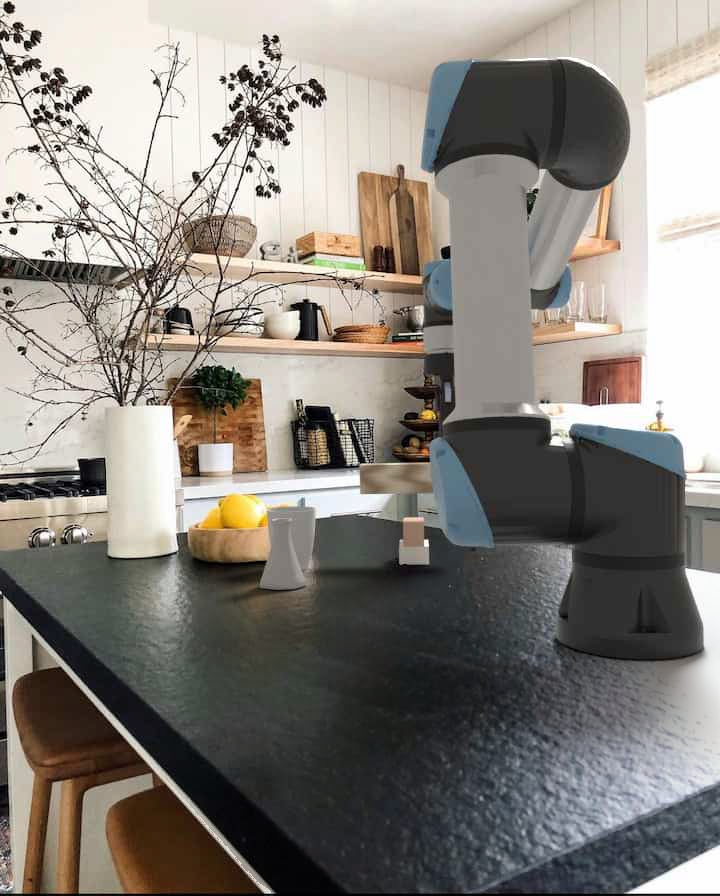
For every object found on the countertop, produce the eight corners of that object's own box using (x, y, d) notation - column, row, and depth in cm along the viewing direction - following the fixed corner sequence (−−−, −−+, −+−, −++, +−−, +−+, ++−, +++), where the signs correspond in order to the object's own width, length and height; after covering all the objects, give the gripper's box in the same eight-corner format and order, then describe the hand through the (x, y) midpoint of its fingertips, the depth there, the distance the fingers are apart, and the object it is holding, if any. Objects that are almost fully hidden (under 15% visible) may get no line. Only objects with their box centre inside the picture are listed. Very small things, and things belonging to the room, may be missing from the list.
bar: (464, 490, 143) (464, 462, 143) (465, 492, 139) (465, 463, 139) (361, 492, 144) (361, 463, 144) (360, 494, 140) (359, 465, 140)
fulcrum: (429, 564, 138) (428, 522, 137) (399, 564, 138) (398, 523, 138) (428, 556, 146) (427, 517, 145) (400, 556, 146) (399, 517, 146)
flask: (299, 592, 117) (298, 522, 117) (251, 591, 119) (250, 522, 119) (312, 582, 124) (311, 516, 124) (267, 581, 126) (265, 516, 126)
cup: (320, 564, 139) (319, 506, 139) (312, 573, 131) (311, 511, 131) (273, 564, 140) (272, 506, 140) (263, 573, 132) (261, 512, 132)
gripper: (471, 348, 131) (473, 493, 132) (465, 356, 148) (466, 484, 149) (424, 349, 132) (426, 494, 133) (423, 357, 149) (425, 485, 150)
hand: (447, 488), depth 141 cm, fingers closed on bar, 4 cm apart
